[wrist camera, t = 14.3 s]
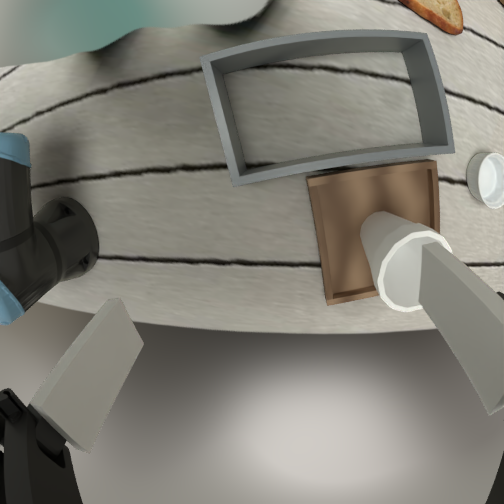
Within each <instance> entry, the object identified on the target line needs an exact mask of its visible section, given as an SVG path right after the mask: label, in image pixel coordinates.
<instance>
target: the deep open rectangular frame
mask: <svg viewBox="0 0 504 504" xmlns="http://www.w3.org/2000/svg"><path fill="white" fill-rule="evenodd" d="M355 52H402V54H403V57H404V60H405V63H406V67H407V70H408V74H409V77H410V81H411V85H412V89H413V93H414V97H415V101H416V106H417V111H418V116H419V121H420V126H421V132H422V138H423V143H414V144H403V145H393V146H383V147H375V148H367V149H359V150H352V151H345V152H338V153H332V154H326V155H320V156H314V157H308V158H303V159H297V160H292V161H287V162H282V163H277V164H272V165H267V166H263V167H258V168H254V169H249V170H247V168H246V164H245V160H244V156H243V152H242V148H241V144H240V140H239V136H238V132H237V128H236V125H235V121H234V117H233V113H232V109H231V105H230V101H229V98H228V94H227V90H226V86H225V82H224V79H223V74H226V73H230V72H234V71H238V70H241V69H246V68H250V67H254V66H259V65H263V64H268V63H273V62H278V61H284V60H290V59H296V58H303V57H310V56H318V55H328V54H339V53H355ZM200 61H201V65H202V69H203V72H204V76H205V80H206V84H207V88H208V92H209V96H210V100H211V104H212V107H213V111H214V115H215V119H216V123H217V127H218V131H219V135H220V138H221V142H222V146H223V150H224V154H225V158H226V162H227V166H228V169H229V173H230V177H231V181H232V185H233V187H237V186H241V185H245V184H250V183H254V182H259V181H264V180H268V179H273V178H278V177H283V176H288V175H293V174H299V173H304V172H309V171H315V170H321V169H327V168H333V167H339V166H345V165H352V164H358V163H366V162H373V161H380V160H388V159H397V158H406V157H415V156H426V155H437V154H451V153H455V148H454V140H453V133H452V127H451V121H450V115H449V110H448V105H447V100H446V96H445V91H444V87H443V83H442V79H441V76H440V72H439V69H438V65H437V62H436V59H435V55H434V52H433V49H432V46H431V44H430V41H429V38H428V35H427V33H420V32H410V31H397V30H336V31H322V32H312V33H304V34H296V35H289V36H283V37H277V38H271V39H266V40H261V41H256V42H252V43H248V44H243V45H239V46H235V47H231V48H228V49H224V50H221V51H217V52H214V53H210V54H207V55H204V56H201V57H200Z"/></svg>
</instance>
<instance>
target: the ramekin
mask: <svg viewBox="0 0 504 504" xmlns="http://www.w3.org/2000/svg"><path fill="white" fill-rule="evenodd" d="M467 184H468V188H469V190H470V192H471V194H472V195H473V196H474V197H475V198H476V199H478V200H479V201H481V202H483V203H484V204H485V205H486V206H488V207H489V208H491V209H498V208H500V207H501V206H503V205H504V157H503V156H502V155H501V154H499V153H495V152H494V153H479V154H476V155H475V156H474V157H473V158H472V159H471V161H470V162H469V165H468V168H467Z"/></svg>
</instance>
